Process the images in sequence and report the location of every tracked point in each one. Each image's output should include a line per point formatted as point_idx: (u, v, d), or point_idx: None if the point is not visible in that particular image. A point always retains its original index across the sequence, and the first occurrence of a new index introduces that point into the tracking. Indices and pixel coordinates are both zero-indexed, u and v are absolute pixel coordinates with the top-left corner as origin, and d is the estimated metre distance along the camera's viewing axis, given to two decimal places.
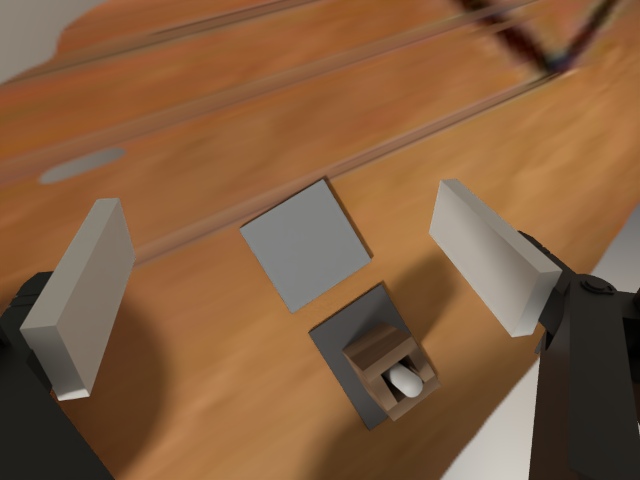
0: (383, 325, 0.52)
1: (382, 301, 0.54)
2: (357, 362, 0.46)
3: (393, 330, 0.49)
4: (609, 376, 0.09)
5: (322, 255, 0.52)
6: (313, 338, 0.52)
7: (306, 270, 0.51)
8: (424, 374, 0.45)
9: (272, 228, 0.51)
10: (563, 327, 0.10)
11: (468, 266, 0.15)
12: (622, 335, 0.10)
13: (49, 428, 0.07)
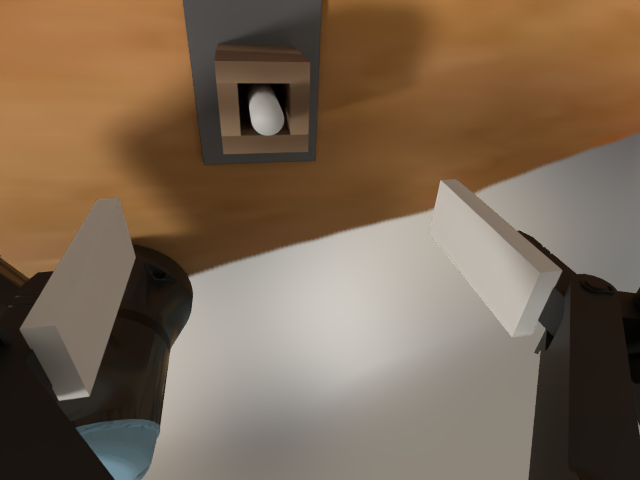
0: (289, 48, 0.35)
1: (308, 17, 0.35)
2: (220, 54, 0.30)
3: (295, 53, 0.33)
4: (609, 376, 0.09)
5: None
6: None
7: None
8: (295, 124, 0.31)
9: None
10: (563, 327, 0.10)
11: (468, 266, 0.15)
12: (622, 335, 0.10)
13: (49, 429, 0.07)
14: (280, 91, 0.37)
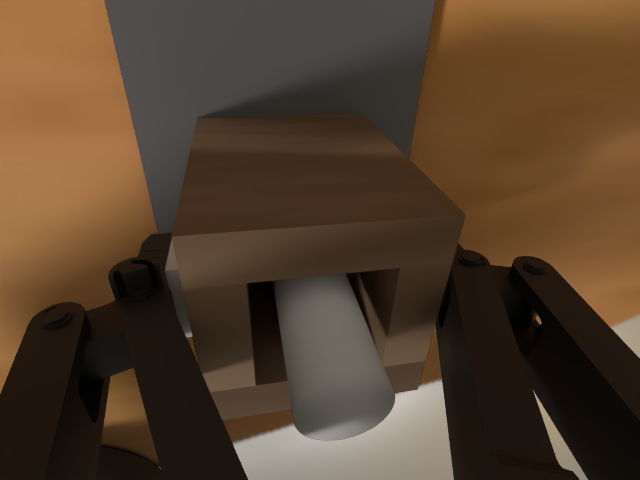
0: (359, 124, 0.16)
1: (400, 55, 0.16)
2: (197, 181, 0.11)
3: (387, 152, 0.13)
4: (500, 345, 0.09)
5: None
6: (113, 14, 0.13)
7: None
8: (398, 347, 0.12)
9: None
10: (452, 305, 0.11)
11: None
12: (500, 302, 0.11)
13: (180, 361, 0.08)
14: None
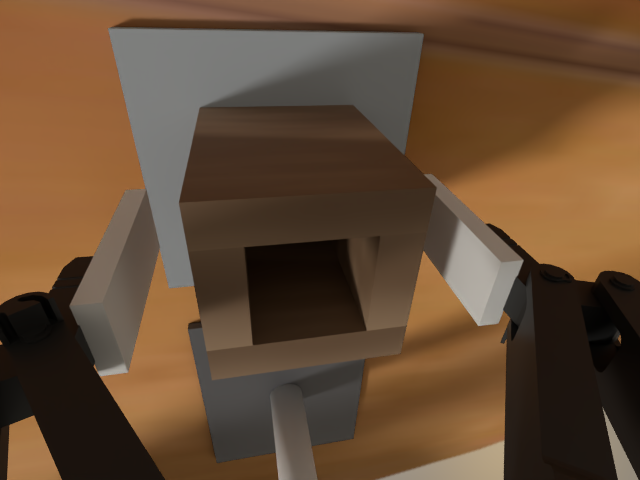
0: (349, 114, 0.17)
1: None
2: (199, 160, 0.12)
3: (372, 137, 0.14)
4: (573, 363, 0.09)
5: None
6: (193, 339, 0.25)
7: None
8: (381, 312, 0.13)
9: (213, 85, 0.17)
10: (527, 317, 0.11)
11: (441, 258, 0.15)
12: (582, 322, 0.10)
13: (93, 402, 0.08)
14: None
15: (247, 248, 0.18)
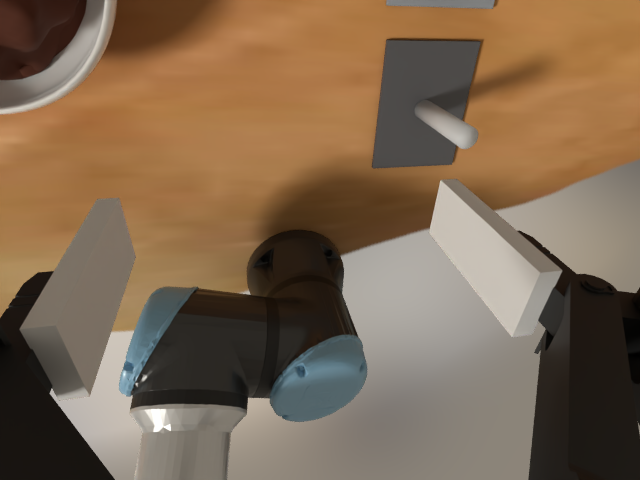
0: None
1: (468, 60, 0.49)
2: None
3: None
4: (609, 376, 0.09)
5: None
6: (388, 49, 0.46)
7: None
8: None
9: None
10: (563, 327, 0.10)
11: (468, 266, 0.15)
12: (622, 335, 0.10)
13: (48, 429, 0.07)
14: None
15: None
